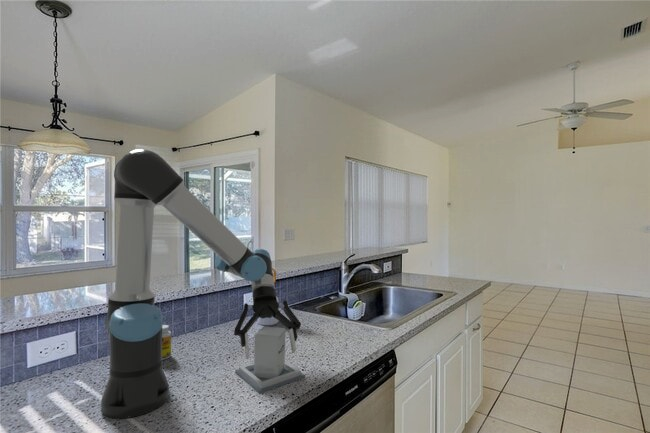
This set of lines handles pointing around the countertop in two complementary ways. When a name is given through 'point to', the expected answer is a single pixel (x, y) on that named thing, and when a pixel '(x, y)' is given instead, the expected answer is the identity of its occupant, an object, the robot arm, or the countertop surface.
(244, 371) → the slate base tray
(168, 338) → the supplement bottle
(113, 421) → the countertop surface
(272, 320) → the soap bottle
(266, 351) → the supplement box
